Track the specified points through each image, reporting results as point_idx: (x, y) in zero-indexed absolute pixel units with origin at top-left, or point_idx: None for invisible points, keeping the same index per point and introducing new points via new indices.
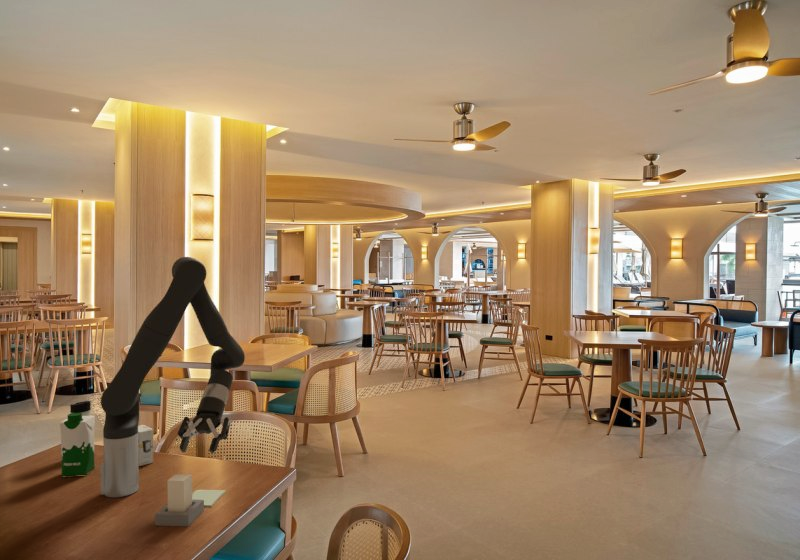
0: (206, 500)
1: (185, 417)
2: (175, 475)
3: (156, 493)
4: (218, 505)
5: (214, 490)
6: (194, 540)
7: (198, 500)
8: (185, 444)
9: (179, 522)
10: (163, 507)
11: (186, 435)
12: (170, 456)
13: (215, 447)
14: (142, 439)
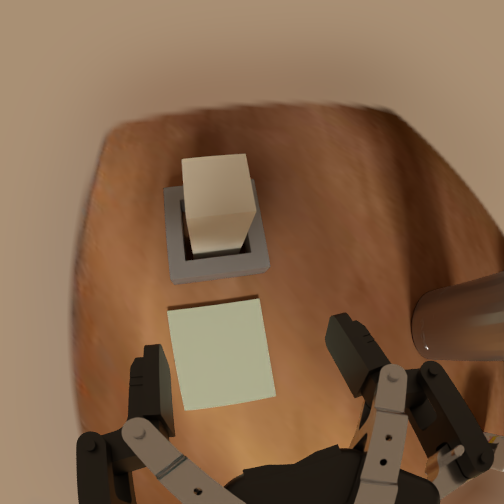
0: (199, 337)
1: (490, 460)
2: (247, 196)
3: None
4: (152, 322)
5: (218, 403)
6: (126, 157)
7: (184, 271)
8: (346, 350)
9: None
10: (257, 212)
11: (381, 378)
12: None
13: (131, 370)
14: (501, 444)
